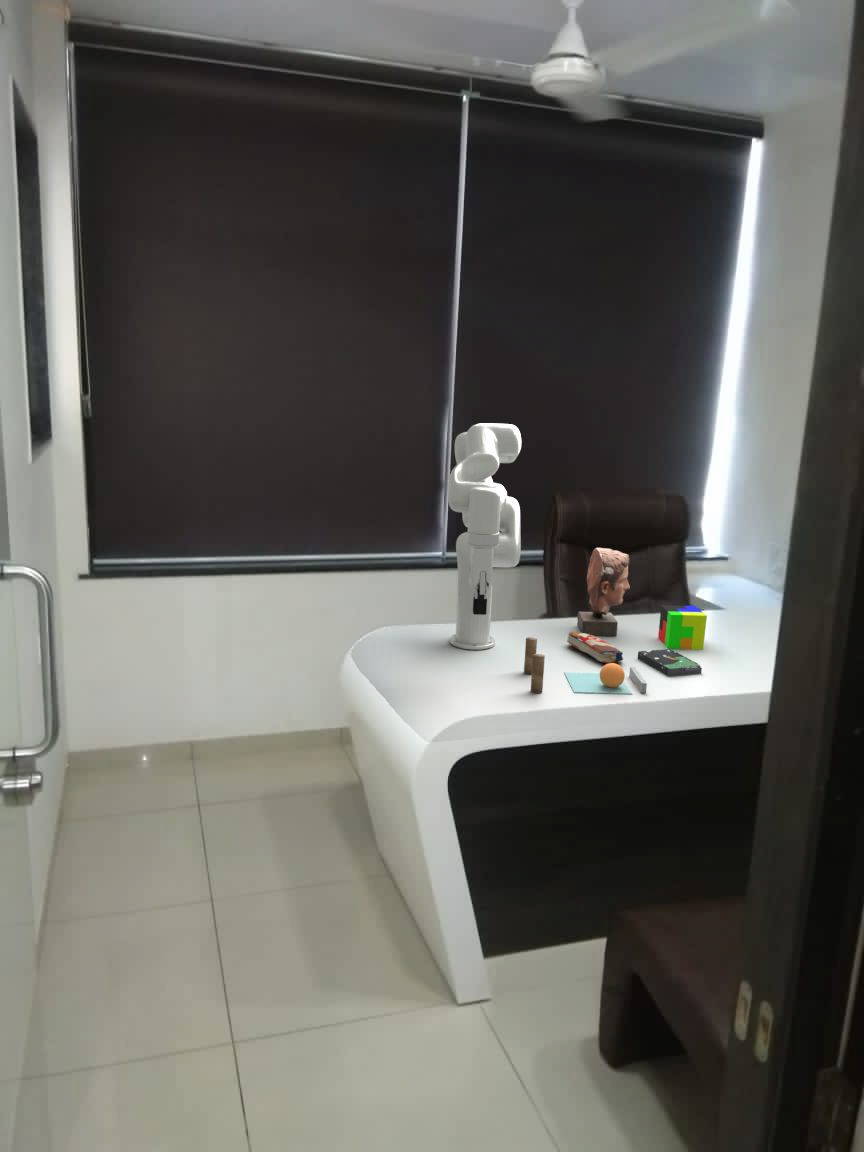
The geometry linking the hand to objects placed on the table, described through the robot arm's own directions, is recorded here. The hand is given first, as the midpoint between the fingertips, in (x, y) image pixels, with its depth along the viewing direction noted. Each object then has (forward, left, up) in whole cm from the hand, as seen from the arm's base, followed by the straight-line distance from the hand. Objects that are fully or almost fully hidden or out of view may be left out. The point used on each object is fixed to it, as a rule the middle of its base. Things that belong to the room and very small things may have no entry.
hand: (479, 613), depth 217 cm
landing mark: (0, +30, -17) cm, 35 cm away
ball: (+2, +33, -14) cm, 36 cm away
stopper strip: (0, +40, -17) cm, 44 cm away
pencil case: (-23, +34, -18) cm, 44 cm away
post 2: (+7, +14, -17) cm, 23 cm away
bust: (-45, +40, -17) cm, 63 cm away
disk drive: (-15, +52, -18) cm, 57 cm away
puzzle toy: (-35, +61, -17) cm, 72 cm away
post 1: (-7, +14, -17) cm, 23 cm away
